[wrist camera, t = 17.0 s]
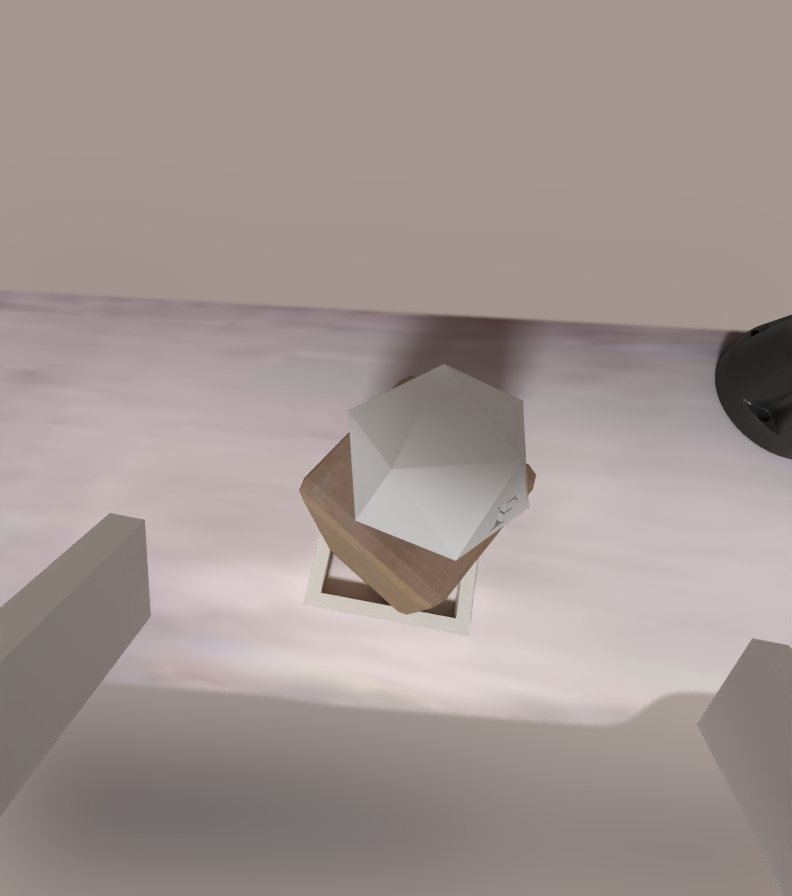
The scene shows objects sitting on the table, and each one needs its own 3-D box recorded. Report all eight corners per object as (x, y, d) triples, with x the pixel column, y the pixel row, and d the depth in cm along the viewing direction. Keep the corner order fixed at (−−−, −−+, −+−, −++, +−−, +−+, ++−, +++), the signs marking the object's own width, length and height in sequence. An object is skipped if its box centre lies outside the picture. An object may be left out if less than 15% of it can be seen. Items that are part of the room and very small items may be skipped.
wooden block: (475, 534, 46) (548, 471, 27) (405, 620, 43) (433, 616, 24) (394, 466, 48) (410, 363, 29) (322, 544, 45) (288, 486, 26)
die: (347, 567, 25) (483, 615, 18) (288, 409, 24) (410, 386, 16) (455, 499, 30) (601, 513, 22) (412, 362, 28) (555, 326, 20)
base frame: (483, 481, 48) (487, 477, 46) (464, 635, 43) (468, 635, 42) (340, 455, 48) (339, 449, 47) (305, 605, 43) (303, 604, 42)
